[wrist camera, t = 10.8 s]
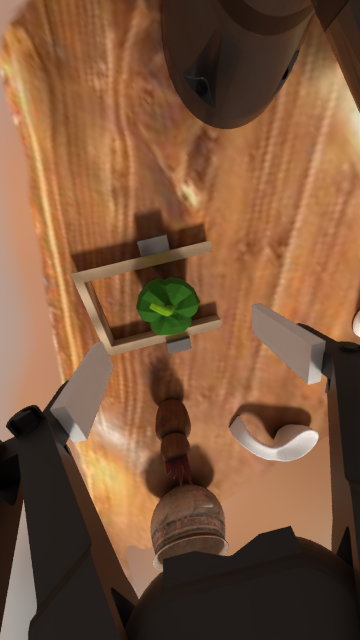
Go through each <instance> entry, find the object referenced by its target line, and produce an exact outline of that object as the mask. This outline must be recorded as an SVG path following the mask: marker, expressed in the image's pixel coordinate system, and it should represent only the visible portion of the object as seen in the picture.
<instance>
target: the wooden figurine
mask: <svg viewBox="0 0 360 640" xmlns="http://www.w3.org/2000/svg"><path fill="white" fill-rule="evenodd" d="M190 431H191V423H190V419H189V415H188V412H187V410H186V407H185V406H184V404H183V403H182V402H180V401H179V400H176V399H168V400H166V401H164V402H163V403H161V405H160V407H159V408H158V411H157V415H156V435H157V437H158V439H159V440H160V441H162V443H161V456H162V458H163V460H164V461H165V464H166V469H167V473H168V475H169V474H170V472H171V470H172V476H173V478H175V474H176V469H177V473H178V478H179V483H180V485H182V466H183V467H184V470H185V472H186V475H187V478H188V480H189V483H190V485H192V478H191V472H190V466H189V461H188V457H189V453H190V445H189V442H188V440H187V438H188V436H189V434H190Z"/></svg>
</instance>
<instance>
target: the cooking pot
mask: <svg viewBox="0 0 360 640" xmlns="http://www.w3.org/2000/svg"><path fill="white" fill-rule="evenodd" d="M151 538H152V543H153V547H154V551H155V558H154V560H153V564H154V567H155V568H156V569H158V570H159V571H163V559H165V558H169V557H173V556H176V555H180V554H184V553H188V552H192V551H199V552H205V553H211V554H217V555H223V556H225V555H226V553H227V551H228V549H229V545H228V542H227V541H226V540H225V517H224V512H223V509H222V506H221V504H220V502H219V501H218V499H217V498H216V496H215V495H214V494H213V493H212V492H210V491H209V490H208V489H206V488H204V487H201V486H198V485H194V484H192V485H190V483H182V485H180V484H179V485H177V486H176V487H175V488H174V489H172V490H171V491H169V492H168V493H167V494H166V495H165V496H164V497H163V498H162V499H161V500H160V501H159V503H158V504H157V506H156V508H155V510H154V513H153V516H152V519H151Z"/></svg>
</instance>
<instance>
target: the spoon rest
mask: <svg viewBox="0 0 360 640" xmlns="http://www.w3.org/2000/svg"><path fill="white" fill-rule="evenodd" d="M230 431H231V433H232V435H233V436H234V438H235V439H236V440H237V441H238V442H239V443H240V444H241V445H242V446H244V447H245V448H246V449H248V450H249V451H251V452H252V453H254V454H255V455H257V456H259V457H261V458H264V459H267V460H278V461H292V460H295V459H298V458H299V457H302V456H303V455H305V454H306V453H308V452H309V451H310V450H311V449H312V448H313V447H314V445H315V444H316V442H317V440H318V433H317V432H316V431H315V430H314V429H312V428H310V427H307V426H304V425H293V424H289V425H285V426H283V427H281V428H280V429H279V430H278V431H277V433H276V436H275V438H274V442H273V446H269V445H266V444H263V443H261V442H260V441H258V440H257V439H255V438H254V437H253V436H252V435H251V434H250V432H249V431H248V430H247V428H246V426H245V424H244V423H243V421H242V419H241V417H240V416H237V417H236V419H235V420H234V422H233V423H232V425H231V426H230Z"/></svg>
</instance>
